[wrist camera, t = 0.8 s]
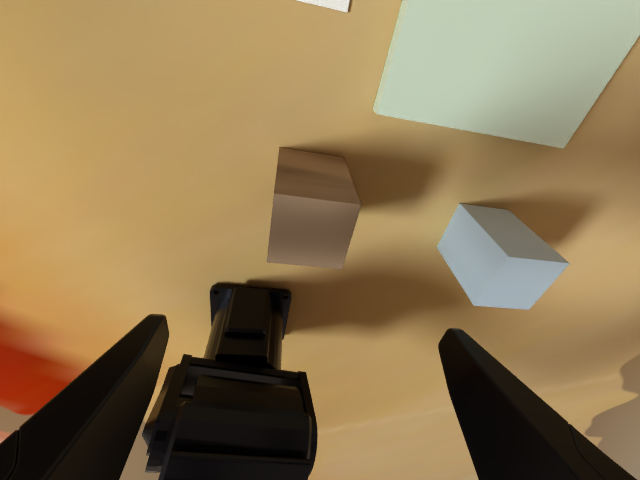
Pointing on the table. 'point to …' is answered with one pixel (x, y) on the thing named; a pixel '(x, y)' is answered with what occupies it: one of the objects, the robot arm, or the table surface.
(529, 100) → the plate
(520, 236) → the gray block
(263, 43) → the table surface
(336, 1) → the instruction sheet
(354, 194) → the walnut block
